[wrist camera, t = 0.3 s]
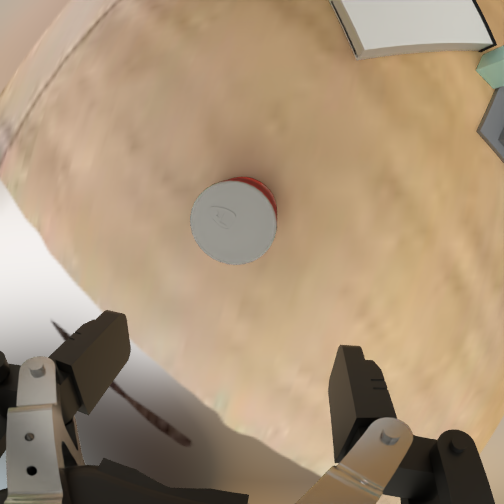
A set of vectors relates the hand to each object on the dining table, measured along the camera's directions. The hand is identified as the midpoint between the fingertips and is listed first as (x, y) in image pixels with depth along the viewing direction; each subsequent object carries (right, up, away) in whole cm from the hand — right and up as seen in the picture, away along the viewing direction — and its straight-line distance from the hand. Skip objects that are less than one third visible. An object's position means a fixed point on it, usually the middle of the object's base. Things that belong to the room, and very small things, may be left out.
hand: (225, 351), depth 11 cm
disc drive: (+22, +39, +18) cm, 48 cm away
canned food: (0, +9, +28) cm, 29 cm away
